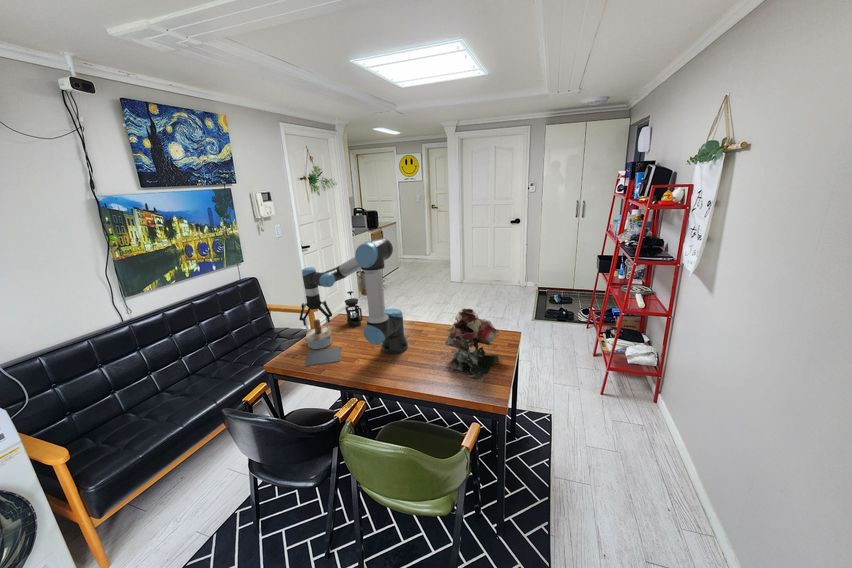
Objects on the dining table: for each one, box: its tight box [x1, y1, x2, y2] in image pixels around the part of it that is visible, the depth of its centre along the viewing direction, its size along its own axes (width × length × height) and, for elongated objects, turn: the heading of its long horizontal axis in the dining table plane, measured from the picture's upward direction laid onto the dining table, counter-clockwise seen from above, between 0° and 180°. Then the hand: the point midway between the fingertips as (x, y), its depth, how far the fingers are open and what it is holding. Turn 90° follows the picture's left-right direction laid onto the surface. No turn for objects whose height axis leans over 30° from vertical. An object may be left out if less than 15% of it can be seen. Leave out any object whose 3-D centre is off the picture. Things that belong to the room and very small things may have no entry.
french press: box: [344, 290, 363, 328], centre depth 236 cm, size 12×9×23 cm
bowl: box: [307, 337, 332, 350], centre depth 213 cm, size 13×13×6 cm
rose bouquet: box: [444, 308, 500, 380], centre depth 181 cm, size 26×29×30 cm
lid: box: [304, 318, 332, 343], centre depth 210 cm, size 14×14×10 cm
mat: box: [305, 347, 341, 368], centre depth 198 cm, size 18×16×1 cm
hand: (317, 329), depth 210 cm, fingers open, 11 cm apart
